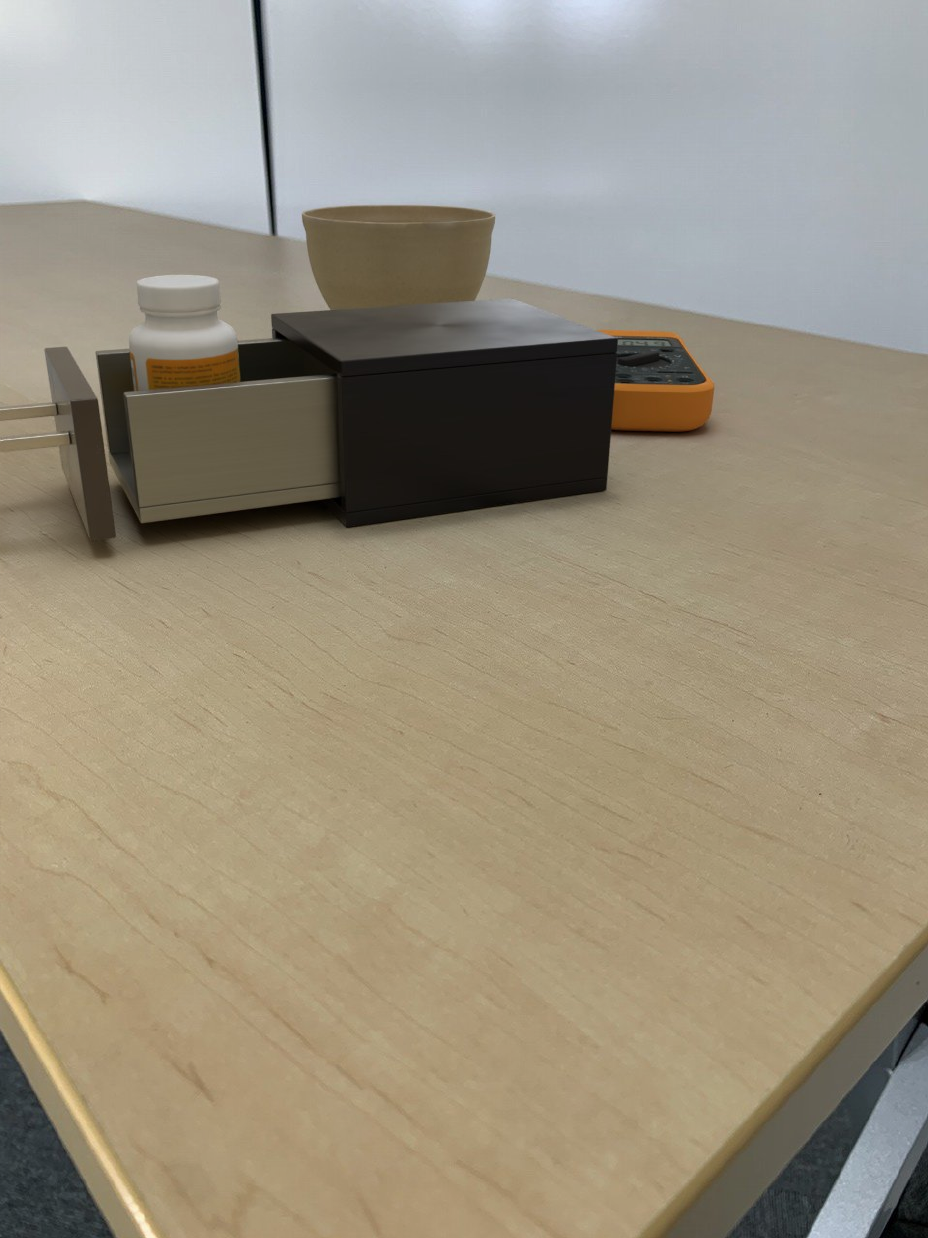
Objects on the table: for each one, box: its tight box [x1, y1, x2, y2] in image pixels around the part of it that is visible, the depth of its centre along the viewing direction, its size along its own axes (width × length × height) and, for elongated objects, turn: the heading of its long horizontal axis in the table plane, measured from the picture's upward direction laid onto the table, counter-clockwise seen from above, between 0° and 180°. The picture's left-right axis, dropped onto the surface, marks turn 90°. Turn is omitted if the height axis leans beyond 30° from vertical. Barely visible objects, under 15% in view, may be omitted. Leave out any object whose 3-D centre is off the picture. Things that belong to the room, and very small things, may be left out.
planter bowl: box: [301, 204, 496, 310], centre depth 94 cm, size 16×16×11 cm
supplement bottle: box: [128, 274, 241, 391], centre depth 57 cm, size 5×5×10 cm
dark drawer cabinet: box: [270, 297, 618, 528], centre depth 63 cm, size 16×13×9 cm
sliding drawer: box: [0, 337, 341, 542], centre depth 57 cm, size 20×11×7 cm, turn 114°
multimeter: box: [596, 329, 715, 433], centre depth 80 cm, size 9×18×3 cm, turn 179°
